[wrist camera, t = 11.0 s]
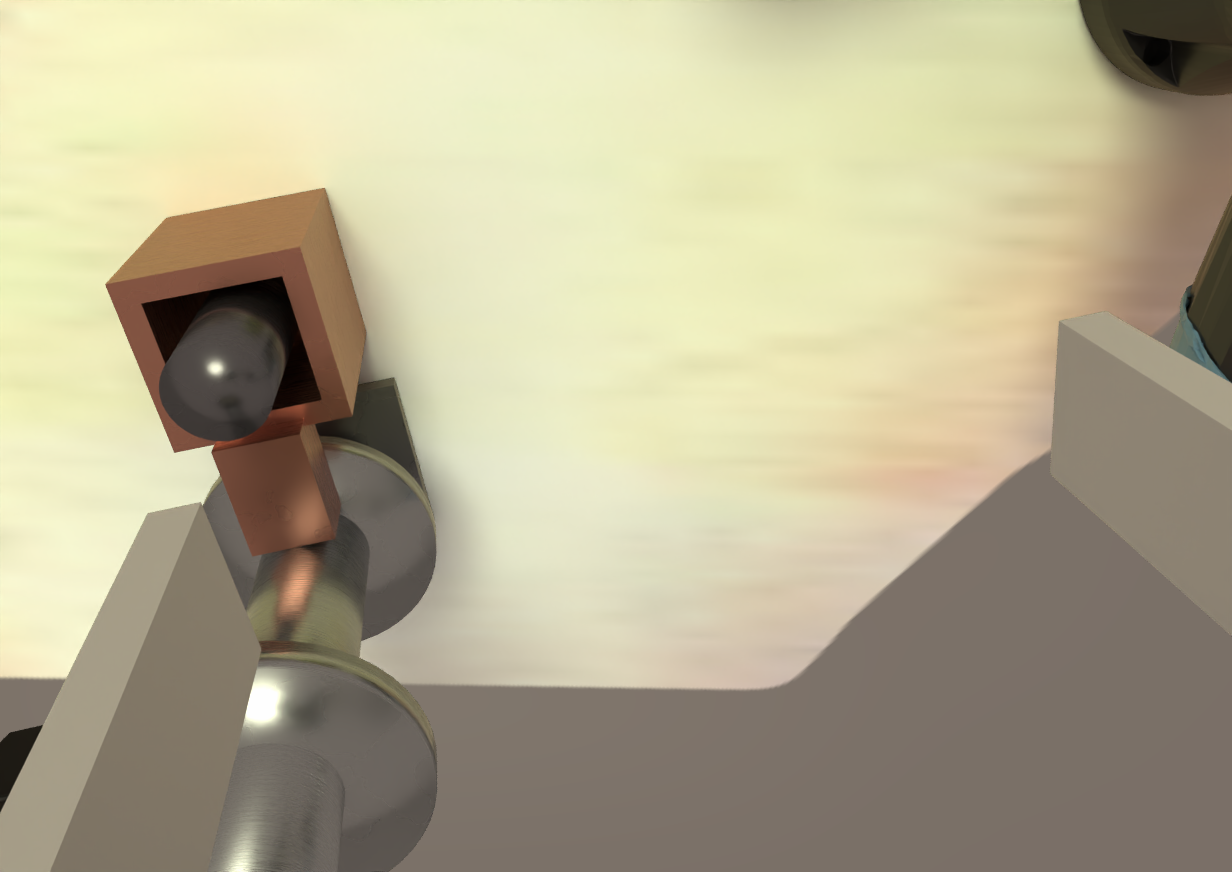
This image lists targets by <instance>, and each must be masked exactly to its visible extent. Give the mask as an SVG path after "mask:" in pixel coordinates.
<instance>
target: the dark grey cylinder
mask: <svg viewBox="0 0 1232 872" xmlns="http://www.w3.org/2000/svg"><path fill="white" fill-rule="evenodd" d="M298 329H299V327H298V324H297V320H296V317H295V314H294V311H293V308H292V305H291V302H290V299H289V296H288V293H287V289H286V286H285V283H284V280H283V277H282V276H280V277H275V278H270V279H265V280H259V281H254V282H249V283H244V284H239V285H234V286H229V287H223V288H218V289H213V290H211V291H210V293H209V294H208V296H207V298H206V299H205V301H204V303H203V304H202V306H201V307H200V309H199V311H198V312H197V314H196V316H195V317H194V319H193V320H192V322H191V324H190V325H189V327H188V329H187V330H186V332H185V334H184V335H183V337H182V338H181V340H180V342H179V343H178V345H177V347H176V348H175V350H174V351H173V353H172V355H171V356H170V358H169V360H168V361H167V363H166V364H165V366H164V368H163V370H162V372H161V376H160V380H159V394H160V399H161V402H162V405H163V407H164V409H165V411H166V412H167V414H168V415H169V417H170V418H171V419H172V420H173V421H174V422H175V423H176V424H177V425H178V426H179V427H181V428H182V429H184V430H185V431H187V432H188V433H190V434H192V435H194V436H197V437H199V438H203V439H206V440H211V441H232V440H237V439H240V438H243V437H246V436H248V435H250V434H252V433H253V432H255V431H256V430H257V429H259V428H260V427H261V426H262V425H263V424H264V422H265V421H266V420H267V418H268V416H269V414H270V412H271V409H272V406H273V403H274V400H275V397H276V394H277V391H278V388H279V385H280V383H281V380H282V377H283V374H284V371H285V368H286V365H287V362H288V359H289V356H290V353H291V350H292V347H293V344H294V341H295V338H296V335H297V332H298Z"/></svg>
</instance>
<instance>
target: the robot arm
mask: <svg viewBox="0 0 1232 872" xmlns="http://www.w3.org/2000/svg"><path fill="white" fill-rule="evenodd" d="M1081 5H1082V9H1083V13H1084V16H1085V19H1086V22H1087V25H1088V27H1089V29H1090V32H1091V34H1092V36H1093V38H1094V39H1095V41H1096V43H1097V45H1098V46H1099V48H1100V49H1101V51H1102V52H1103V53H1104V54H1105V56H1106V57H1107V58H1108V59H1109V60H1110V61H1111V62H1112V63H1113V64H1114V65H1115V66H1116V67H1117V68H1118V69H1119V70H1121V71H1122V72H1123V73H1125V74H1126V75H1128V76H1129V77H1131V78H1133V79H1135V80H1137V81H1138V82H1141V83H1143V84H1146V85H1149V86H1152V87H1155V88H1160V89H1164V90H1169V91H1173V92H1178V93H1183V94H1188V95H1199V96H1213V95H1225V94H1232V0H1081ZM1050 474H1051V475H1052V476H1053V477H1054V478H1055V479H1056V480H1057V481H1058V482H1060V483H1061V484H1062V485H1063V486H1064V487H1065V488H1066V489H1067V490H1068V491H1070V492H1071V493H1072V494H1073V495H1074V496H1075V497H1076V498H1077V499H1079V500H1080V501H1081V502H1082V503H1083V504H1084V505H1085V506H1086V507H1088V508H1089V509H1090V510H1091V511H1092V512H1093V513H1094V514H1095V515H1097V516H1098V517H1099V518H1100V519H1101V520H1102V521H1103V522H1104V523H1105V524H1107V525H1108V526H1109V527H1110V528H1111V529H1112V530H1113V531H1114V532H1116V533H1117V534H1118V535H1119V536H1120V537H1121V538H1122V539H1123V540H1124V541H1126V542H1127V543H1128V544H1129V545H1130V546H1131V547H1132V548H1134V549H1135V550H1136V551H1137V552H1138V553H1139V554H1140V555H1141V556H1142V557H1144V558H1145V559H1146V560H1147V561H1148V562H1149V563H1150V564H1151V565H1153V566H1154V567H1155V568H1156V569H1157V570H1158V571H1159V572H1161V573H1162V574H1163V575H1164V576H1165V577H1166V578H1167V579H1168V580H1169V581H1170V582H1172V583H1173V584H1174V585H1175V586H1176V587H1177V588H1178V589H1179V590H1180V591H1182V592H1183V593H1184V594H1185V595H1186V596H1187V597H1188V598H1189V599H1191V600H1192V601H1193V602H1194V603H1195V604H1196V605H1197V606H1198V607H1200V608H1201V609H1202V610H1203V611H1204V612H1205V613H1206V614H1207V615H1208V616H1210V617H1211V618H1212V619H1213V620H1214V621H1215V622H1216V623H1217V624H1219V625H1220V626H1221V627H1222V628H1223V629H1224V630H1225V631H1226V632H1228V633H1229V634H1230V635H1231V636H1232V195H1231V197H1230V200H1229V202H1228V204H1227V207H1226V209H1225V211H1224V214H1223V216H1222V218H1221V221H1220V223H1219V225H1218V228H1217V230H1216V232H1215V234H1214V237H1213V239H1212V241H1211V244H1210V246H1209V248H1208V251H1207V253H1206V255H1205V258H1204V260H1203V262H1202V265H1201V267H1200V269H1199V272H1198V274H1197V276H1196V278H1195V281H1194V283H1193V284H1192V285H1191V286H1189V287H1187V289H1186V291H1185V293H1184V295H1183V297H1182V300H1181V304H1180V320H1179V323H1178V325H1177V328H1176V331H1175V333H1174V336H1173V339H1172V341H1171V344H1170V347H1168V346H1166V345H1164V344H1162V343H1161V342H1159V341H1157V340H1155V339H1154V338H1152V337H1150V336H1149V335H1147V334H1145V333H1143V332H1142V331H1140V330H1138V329H1136V328H1135V327H1133V326H1131V325H1129V324H1128V323H1126V322H1124V321H1122V320H1121V319H1119V318H1117V317H1115V316H1114V315H1112V314H1110V313H1108V312H1107V311H1104V312H1099V313H1094V314H1090V315H1085V316H1080V317H1075V318H1071V319H1066V320H1061V321H1059V329H1058V346H1057V363H1056V380H1055V397H1054V414H1053V430H1052V447H1051V465H1050ZM260 653H261V647H260V644H259V642H258V639H257V637H256V635H255V632H254V630H253V627H252V625H251V622H250V620H249V618H248V615H247V613H246V610H245V608H244V605H243V603H242V601H241V598H240V596H239V593H238V591H237V588H236V586H235V584H234V581H233V579H232V576H231V574H230V571H229V569H228V567H227V564H226V562H225V559H224V557H223V554H222V552H221V550H220V547H219V545H218V542H217V540H216V537H215V535H214V532H213V530H212V528H211V525H210V523H209V520H208V518H207V515H206V513H205V511H204V508H203V506H202V503H201V502H199V503H194V504H190V505H185V506H180V507H175V508H171V509H166V510H161V511H156V512H152V513H148V514H147V516H146V518H145V520H144V522H143V524H142V526H141V528H140V530H139V532H138V534H137V536H136V538H135V540H134V542H133V544H132V546H131V548H130V550H129V552H128V554H127V556H126V558H125V560H124V562H123V564H122V566H121V568H120V570H119V573H118V575H117V577H116V579H115V581H114V583H113V585H112V587H111V589H110V591H109V593H108V595H107V597H106V599H105V601H104V603H103V605H102V607H101V609H100V611H99V613H98V615H97V617H96V619H95V621H94V623H93V625H92V627H91V629H90V631H89V633H88V636H87V638H86V640H85V642H84V644H83V646H82V648H81V650H80V652H79V654H78V656H77V658H76V660H75V662H74V664H73V666H72V668H71V670H70V672H69V674H68V676H67V678H66V680H65V683H64V684H63V686H62V689H61V690H60V693H59V694H58V696H57V699H56V701H55V703H54V705H53V707H52V709H51V711H50V713H49V715H48V717H47V719H46V721H45V723H44V725H41V726H37V727H33V728H28V729H24V730H19V731H15V732H11V733H9V734H8V735H7V736H6V737H5V738H4V739H3V740H2V741H1V742H0V872H208V868H209V864H210V860H211V855H212V851H213V847H214V843H215V839H216V835H217V831H218V827H219V822H220V818H221V814H222V810H223V806H224V802H225V798H226V794H227V789H228V785H229V781H230V777H231V773H232V769H233V765H234V760H235V756H236V752H237V748H238V744H239V740H240V736H241V732H242V727H243V723H244V719H245V715H246V711H247V707H248V703H249V699H250V694H251V690H252V686H253V682H254V678H255V674H256V670H257V665H258V661H259V657H260Z"/></svg>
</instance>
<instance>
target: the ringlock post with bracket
mask: <svg viewBox="0 0 1232 872" xmlns="http://www.w3.org/2000/svg"><path fill="white" fill-rule="evenodd" d="M280 276H282V277H283V280H284V283H285V286H286V289H287V293H288V296H289V299H290V302H291V305H292V308H293V311H294V314H295V317H296V320H297V324H298V327H299V329H298V332H297V335H296V338H295V341H294V344H293V347H292V350H291V353H290V356H289V359H288V362H287V365H286V368H285V371H284V374H283V377H282V380H281V383H280V385H279V388H278V391H277V394H276V397H275V400H274V403H273V406H272V409H271V412H270V414H269V416H268V418H267V420H266V421H265V422H264V424H263V425H262V426H261V427H260V428H259V429H257V430H256V431H255V432H253V433H252V434H250V435H248V436H246V437H243V438H240V439H237V440H232V441H211V440H206V439H203V438H199V437H197V436H194V435H192V434H190V433H188V432H187V431H185V430H184V429H182V428H181V427H179V426H178V425H177V424H176V423H175V422H174V421H173V420H172V419H171V418H170V417H169V415H168V414H167V412H166V411H165V409H164V407H163V405H162V402H161V399H160V394H159V380H160V376H161V372H162V370H163V368H164V366H165V364H166V363H167V361H168V360H169V358H170V356H171V355H172V353H173V351H174V350H175V348H176V347H177V345H178V343H179V342H180V340H181V338H182V337H183V335H184V334H185V332H186V330H187V329H188V327H189V325H190V324H191V322H192V320H193V319H194V317H195V316H196V314H197V312H198V311H199V309H200V307H201V306H202V304H203V303H204V301H205V299H206V298H207V296H208V294H209V293H210V291H211V290H213V289H218V288H223V287H229V286H234V285H239V284H244V283H249V282H254V281H259V280H265V279H270V278H275V277H280ZM105 285H106V288H107V290H108V292H109V295H110V297H111V300H112V302H113V305H114V307H115V309H116V312H117V314H118V317H119V319H120V322H121V324H122V326H123V329H124V331H125V334H126V336H127V339H128V341H129V343H130V346H131V348H132V351H133V353H134V356H135V358H136V360H137V363H138V365H139V368H140V370H141V373H142V375H143V377H144V380H145V382H146V385H147V387H148V390H149V392H150V394H151V397H152V399H153V402H154V404H155V407H156V409H157V411H158V414H159V416H160V419H161V421H162V424H163V426H164V429H165V431H166V433H167V436H168V438H169V441H170V443H171V446H172V448H173V450H174V453H175V452H180V451H185V450H190V449H195V448H200V447H205V446H210V445H214V444H215V445H214V447H213V450H212V452H211V453H212V455H213V458H214V460H215V463H216V465H217V468H218V471H219V473H220V476H219V478H218V479H217V480H216V482H215V483H214V484H213V486H212V487H211V489H210V491H209V493H208V495H207V497H206V499H205V501H204V504H203V508H204V511H205V513H206V515H207V518H208V520H209V523H210V525H211V528H212V530H213V532H214V535H215V537H216V540H217V542H218V545H219V547H220V550H221V552H222V554H223V557H224V559H225V562H226V564H227V567H228V569H229V571H230V574H231V576H232V579H233V581H234V584H235V586H236V588H237V591H238V593H239V596H240V598H241V601H242V603H243V605H244V608H245V610H246V613H247V615H248V618H249V620H250V622H251V625H252V627H253V630H254V632H255V635H256V637H257V639H258V642H259V644H260V647H261V653H260V657H259V661H258V665H257V670H256V674H255V678H254V682H253V686H252V690H251V694H250V699H249V703H248V707H247V711H246V715H245V719H244V723H243V727H242V732H241V736H240V740H239V744H238V748H237V752H236V756H235V760H234V765H233V769H232V773H231V777H230V781H229V785H228V789H227V794H226V798H225V802H224V806H223V810H222V814H221V818H220V822H219V827H218V831H217V835H216V839H215V843H214V847H213V851H212V855H211V860H210V864H209V868H208V872H389V871H390V870H391V869H393V868H394V867H395V866H396V865H397V864H399V863H400V862H401V861H402V860H403V859H404V858H405V857H406V856H407V855H408V854H409V853H410V852H411V851H412V849H413V848H414V847H415V846H416V844H417V843H418V841H419V840H420V839H421V837H422V836H423V834H424V832H425V830H426V828H427V826H428V824H429V822H430V820H431V817H432V814H433V811H434V807H435V801H436V794H437V754H436V743H435V740H434V735H433V731H432V728H431V726H430V723H429V721H428V719H427V716H426V715H425V713H424V712H423V710H422V708H421V707H420V705H419V704H418V702H417V701H416V700H415V699H414V697H413V696H412V695H411V694H410V693H409V692H408V690H406V688H404V687H403V686H402V685H401V684H400V683H399V682H398V681H396V680H395V679H394V678H393V677H392V676H390V675H389V674H387V673H386V672H384V671H383V670H381V669H380V668H378V667H377V666H375V665H373V664H371V663H369V662H367V661H365V660H363V659H361V658H359V657H360V647H361V641H362V640H365V639H368V638H370V637H373V636H375V635H378V634H379V633H381V632H383V631H385V630H387V629H389V628H390V627H392V626H393V625H395V624H396V623H398V622H399V621H400V620H402V619H403V618H404V617H405V616H406V615H407V614H408V613H409V612H410V611H411V610H412V609H413V608H414V607H415V606H416V605H417V603H418V602H419V601H420V599H421V598H422V596H423V595H424V593H425V591H426V590H427V588H428V585H429V583H430V581H431V579H432V575H433V571H434V568H435V561H436V525H435V520H434V515H433V512H432V509H431V506H430V502H429V499H428V495H427V491H426V488H425V484H424V481H423V477H422V474H421V470H420V467H419V463H418V459H417V456H416V452H415V449H414V445H413V442H412V438H411V435H410V431H409V427H408V424H407V420H406V417H405V413H404V410H403V406H402V403H401V399H400V395H399V392H398V388H397V385H396V381H395V378H390V379H385V380H380V381H375V382H370V383H365V384H360V385H358V380H359V374H360V368H361V362H362V356H363V350H364V344H365V338H366V329H365V326H364V322H363V319H362V315H361V312H360V308H359V305H358V302H357V298H356V295H355V291H354V288H353V284H352V281H351V277H350V274H349V270H348V267H347V263H346V260H345V257H344V253H343V250H342V246H341V243H340V239H339V236H338V232H337V229H336V225H335V222H334V218H333V215H332V212H331V208H330V205H329V201H328V198H327V194H326V191H325V188H322V189H316V190H311V191H306V192H300V193H295V194H290V195H285V196H279V197H274V198H269V199H263V200H258V201H253V202H247V203H242V204H237V205H232V206H226V207H221V208H216V209H210V210H205V211H200V212H194V213H189V214H184V215H179V216H173V217H168V218H166V219H165V220H164V221H163V222H162V223H161V224H160V225H159V226H158V227H157V228H156V230H155V231H154V232H153V233H152V234H151V235H150V236H149V237H148V238H147V239H146V240H145V242H144V243H143V244H142V245H141V246H140V247H139V248H138V249H137V250H136V251H135V252H134V254H133V255H132V256H131V257H130V258H129V259H128V260H127V261H126V262H125V263H124V264H123V265H122V267H121V268H120V269H119V270H118V271H117V272H116V273H115V274H114V275H113V276H112V277H111V279H110V280H109V281H108V282H107V283H106V284H105Z"/></svg>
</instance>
